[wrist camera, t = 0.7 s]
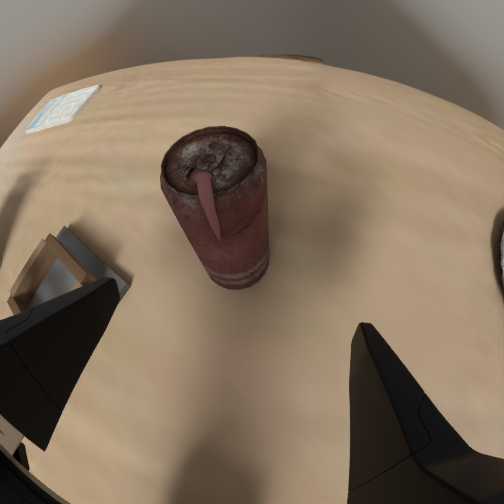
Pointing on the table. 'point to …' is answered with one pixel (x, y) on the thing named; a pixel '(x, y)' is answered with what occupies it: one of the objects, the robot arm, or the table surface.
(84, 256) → the collar
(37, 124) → the calculator
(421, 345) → the table surface
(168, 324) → the table surface
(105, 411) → the table surface
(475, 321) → the table surface
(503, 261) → the food plate
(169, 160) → the can
